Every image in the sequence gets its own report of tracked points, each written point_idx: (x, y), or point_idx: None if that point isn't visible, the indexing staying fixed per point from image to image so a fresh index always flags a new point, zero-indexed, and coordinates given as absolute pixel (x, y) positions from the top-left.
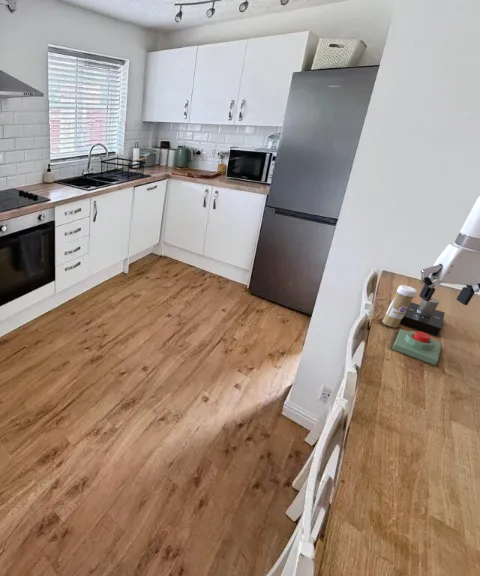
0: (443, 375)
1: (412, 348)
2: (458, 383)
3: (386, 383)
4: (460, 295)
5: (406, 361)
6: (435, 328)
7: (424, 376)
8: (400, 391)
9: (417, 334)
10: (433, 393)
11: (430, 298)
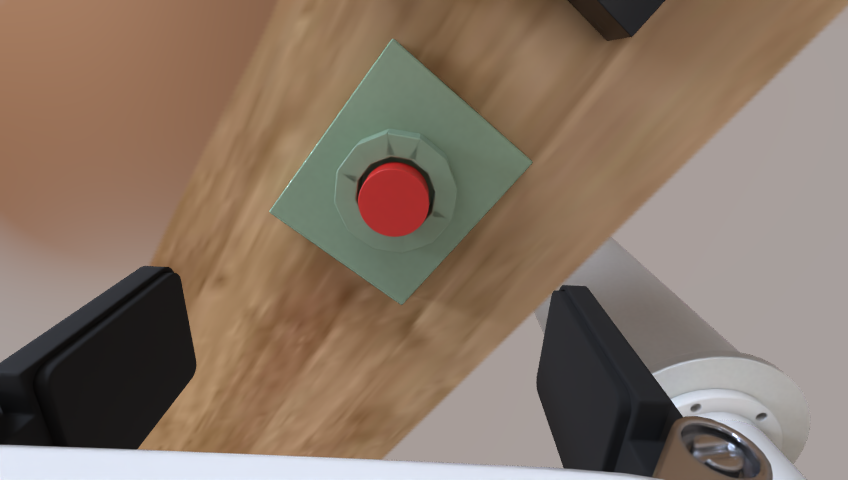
0: (393, 344)
1: (339, 234)
2: (416, 376)
3: None
4: (568, 346)
5: (296, 282)
6: (610, 20)
7: (315, 357)
8: (192, 428)
9: (360, 205)
10: (294, 425)
11: (178, 393)
